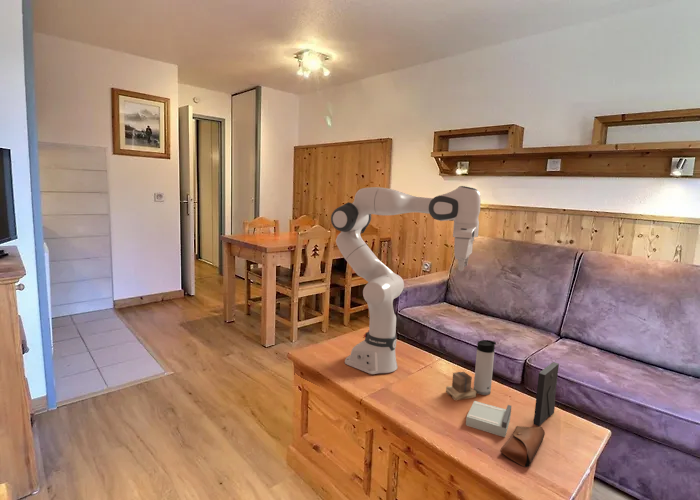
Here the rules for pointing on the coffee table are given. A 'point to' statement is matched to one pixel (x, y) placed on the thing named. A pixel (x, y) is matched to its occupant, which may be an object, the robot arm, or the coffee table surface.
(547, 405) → the picture frame
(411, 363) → the coffee table surface
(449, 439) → the coffee table surface
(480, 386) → the travel mug
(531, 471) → the coffee table surface
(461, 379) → the pallet
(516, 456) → the sunglasses case
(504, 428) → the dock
